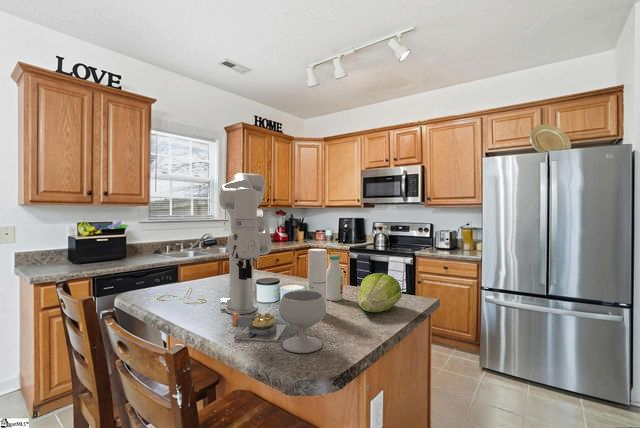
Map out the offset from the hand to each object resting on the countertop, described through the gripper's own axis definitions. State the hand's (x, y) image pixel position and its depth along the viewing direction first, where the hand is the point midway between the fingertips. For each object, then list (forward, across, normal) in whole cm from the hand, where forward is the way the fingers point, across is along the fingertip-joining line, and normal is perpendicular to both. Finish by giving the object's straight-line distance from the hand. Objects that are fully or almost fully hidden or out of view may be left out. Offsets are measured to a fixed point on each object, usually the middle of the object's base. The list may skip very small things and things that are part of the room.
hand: (245, 278), depth 109 cm
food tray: (+15, -2, -5) cm, 15 cm away
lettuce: (+17, +41, -33) cm, 55 cm away
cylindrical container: (+17, +27, -14) cm, 35 cm away
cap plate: (+17, 0, -8) cm, 19 cm away
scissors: (+18, +16, +50) cm, 55 cm away
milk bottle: (+17, +49, -11) cm, 53 cm away
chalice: (+17, -3, -24) cm, 30 cm away
